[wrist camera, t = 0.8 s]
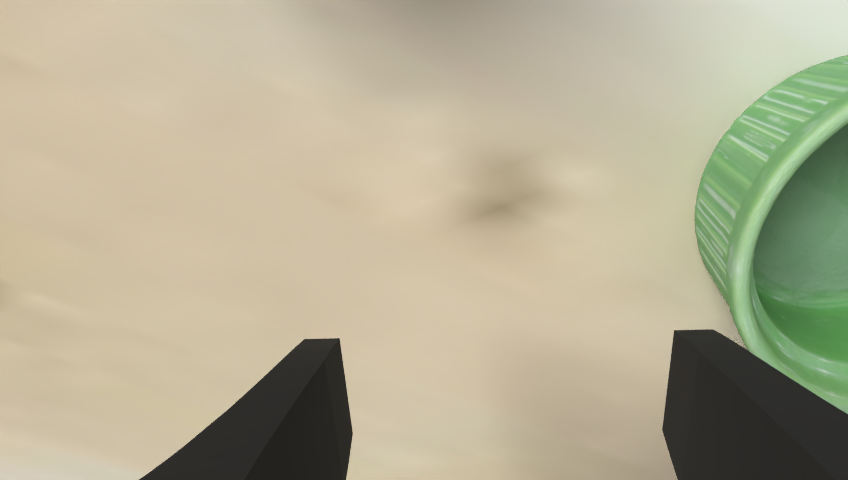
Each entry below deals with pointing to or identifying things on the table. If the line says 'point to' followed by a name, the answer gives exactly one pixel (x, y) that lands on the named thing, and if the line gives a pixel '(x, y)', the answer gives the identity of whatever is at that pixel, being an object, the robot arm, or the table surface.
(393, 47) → the table surface
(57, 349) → the table surface
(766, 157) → the ramekin
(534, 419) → the table surface
